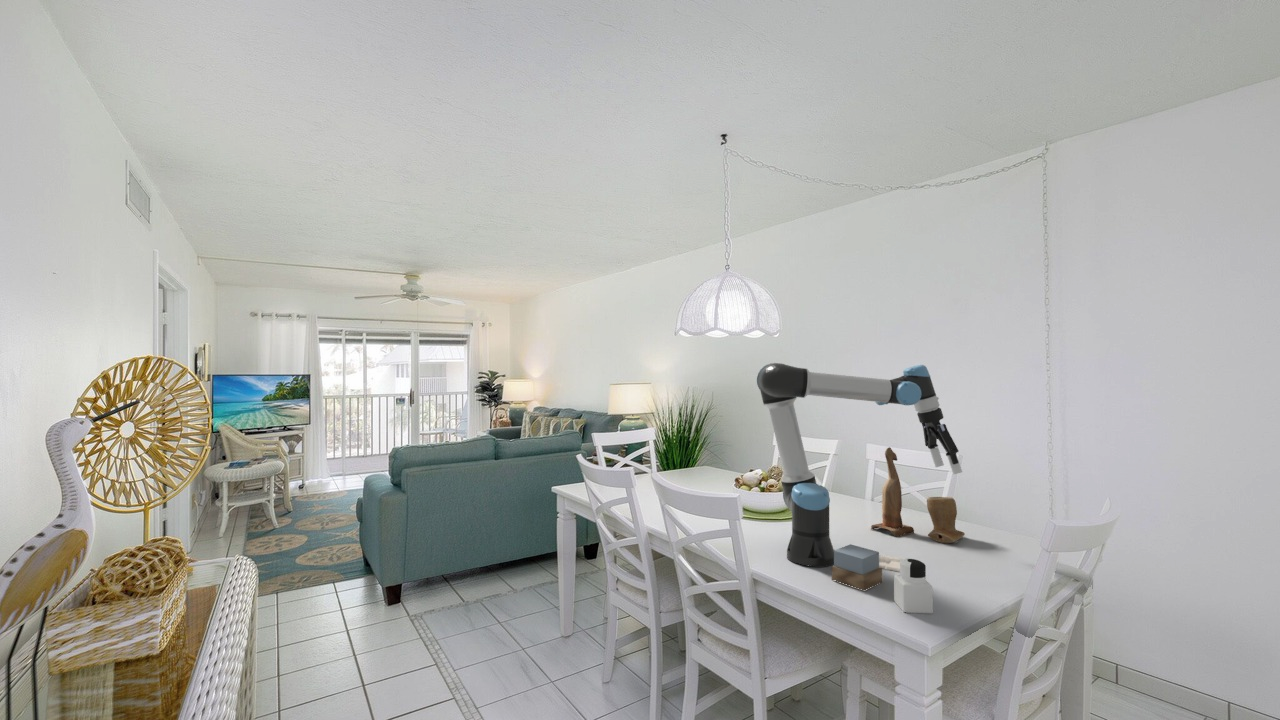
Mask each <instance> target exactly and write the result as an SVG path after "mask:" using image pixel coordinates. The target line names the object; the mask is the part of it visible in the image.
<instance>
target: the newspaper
mask: <svg viewBox="0 0 1280 720" xmlns="http://www.w3.org/2000/svg"><path fill="white" fill-rule="evenodd" d="M904 559H905V558H904ZM904 559H903V558H898V557H894V556H888V555H882V554H879V567H880V568H882V570H883V571H884V570H885V571H889V572H895V573H900V561H901V560H904Z"/></svg>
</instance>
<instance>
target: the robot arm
mask: <svg viewBox="0 0 1280 720" xmlns="http://www.w3.org/2000/svg"><path fill="white" fill-rule="evenodd" d="M902 372H903V374H902V375H901V376H899V377H895V378H892V379H884V378H877V377H876V378H873V377H864V376H853V375H845V374H834V373H833V374H831V373H825V372H824V373H823V372H814V371H813V372H812V371H810V370H809V369H808V368H804V367H797V366H791V365H789V364H785V363H777V362H774V363H773V362H772V363H769V364H766V365H764V366H763V367H762V368H761V369H760V370H759V372H758V373H757V376H756V385H757V387H758V389H759V391H760V395H761V400H762V405H763V406H765V407H766V408H768V409H769V415H770V418H771V423H772V427H773V431H774V436H775V441H776V444H777V449H778V453H779V459H780V463H781V467H782V471H783V476H781V479H780V482H781V486H782V498H783V502H784V503H785V506H786V507H787V508H788V509H789V511H790V513H791V522H792V523H791V526H792V527H791V530H792V532H791V536H790V540H789V541H788V542H789V543H788V544H787V548H786V559H787V560H789V561H790V560H791V561H790V562H792V561H793V562H792V563H794V562H796V563H799V564H798V565H800V564H803V565H802V566H804V565H809V566H808V567H812V566H824V567H828V566H833V565H834V550H835V549H834V546H833V543H832V539H831V536H830V502H831V498H830V493H829V489H827V488H826V487H825V486H823V485H819V484H817V479H816V476H815V473H814V472H812V471H811V470H810V469H809V466H808V462H807V457H806V452H805V448H804V444H803V440H802V439H803V438H802V435H801V431H800V427H799V422H798V418H797V413H796V409H795V404H794V403H795V401H796V400H797V398H802V399H803V398H804V399H805V398H807V396H815V397H823V398H824V397H826V398H835V399H836V398H837V399H845V400H846V399H847V400H856V401H866V402H874V403H876V404H877V405H878V406H884V405H888V404H895V405H902V406H913V405H914V406H913V407H914V409H915V411H916V412H917V413H916V415H917V417H918V421H919V423H920V424H921V425H922V431H923V436H924V445H925V446H926V447H927V448H928V449H929V452H930V455H931V458H932V461H933V464H934V467H935V468H939V467H943V466H944V465H945V464H944V462H943V457H942V455H941V452H940V450H939V445H938V443H937V441H939V443H940V444H941V446H942V447H943V449H944V450H945V452H946V453H945V456H946V457H947V460H948V463H949V466H950V469H951V472H952V475H957V474H961V473H963V469H962V467H961V463H960V461H959V458H958V456H957V453H959V449H958V447H957V445H956V444H955V443H956V442H955V441H954V439H953V438H952V436H951V434H950V432H949V430H948V427H947V425H946V424H945V423H942V424H941V422H940V421H941V420H943V419H944V414H943V411H942V408H940V403H939V401H938V400H940V398H939V396H937V394H936V391H935V388H934V384H933V380H932V378H931V375H930V372H929V370H928V368H927V366H926V365H924V364H919V365H913V366H909V367H906V368H905V369H903V371H902ZM796 563H795V564H796Z"/></svg>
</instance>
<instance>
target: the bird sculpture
mask: <svg viewBox="0 0 1280 720" xmlns="http://www.w3.org/2000/svg"><path fill="white" fill-rule="evenodd" d="M884 456H885V457H884V458H885V460H886V465H887V472H888V478H887V479H886V481H885V482H884V484H883V487H882V491H881V493H882V496H881V498H882V499H881V500H882V501H881V509H882V511H881V512H882V516H881V517H882V522H880V523H876V524H872V525H871V527H870V530H876V529H879V528H882V529H886V530H888V531H890V532H891V534H892V535H893V536H894V537H895V538H896V537H897V538H898V537H902V536H906V535H911V534H914V533H915V529H914V527H912V526H910V525H906V524H903V519H902V515H901V513H902V509H903V505H902V504H903V502H902V501H903V499H902V495H903V494H902V486H901V481H900V478H899V474H898V471H897V468H896V466H895V463H894V461H897V462H898V458H897V457H898V456H897V453H896V452H894V450H893V449H892V448H891V447H890V446H889V447H886V449H885V452H884Z"/></svg>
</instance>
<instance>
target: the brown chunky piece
mask: <svg viewBox="0 0 1280 720" xmlns="http://www.w3.org/2000/svg"><path fill="white" fill-rule="evenodd" d="M956 503H957V502H956V501H955V498H954V497H952V496H929V497H927V498H926V509H927V510H928V511H927V512H928V514H929V517H930V519H931V522H932V525H933V529H932V530H931V531H930V532H929V533H927V536H928V538H931V539H932V540H933V541H935V542H938V543H941V544H951V543H955V542H957V541H959V540H960V539H962V538H963V537H964V536H965V532H963V531H961V530H959V529H956V519H957V515H958V510H957V504H956Z"/></svg>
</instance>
